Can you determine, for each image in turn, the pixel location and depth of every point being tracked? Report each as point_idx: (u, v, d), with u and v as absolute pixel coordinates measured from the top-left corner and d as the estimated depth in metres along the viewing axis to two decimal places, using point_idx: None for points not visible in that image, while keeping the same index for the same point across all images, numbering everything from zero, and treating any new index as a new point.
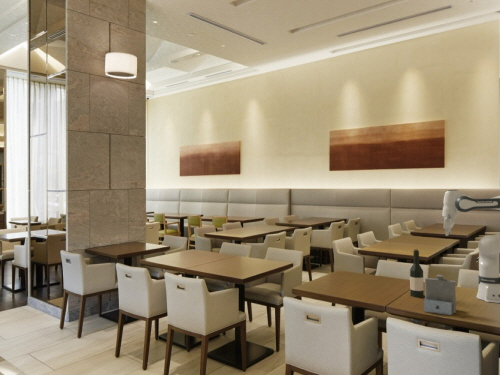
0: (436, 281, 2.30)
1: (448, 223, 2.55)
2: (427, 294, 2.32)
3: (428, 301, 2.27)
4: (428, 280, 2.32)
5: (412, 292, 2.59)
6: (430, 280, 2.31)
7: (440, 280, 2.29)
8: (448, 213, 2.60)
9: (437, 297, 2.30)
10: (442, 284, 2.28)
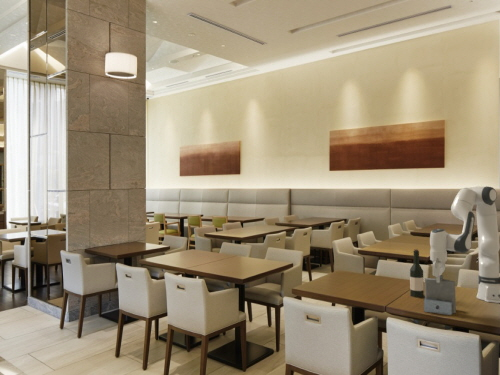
0: None
1: (437, 269, 2.21)
2: (427, 294, 2.32)
3: (428, 301, 2.27)
4: (428, 280, 2.31)
5: (412, 292, 2.59)
6: (430, 281, 2.31)
7: (440, 280, 2.28)
8: (436, 257, 2.26)
9: (437, 297, 2.29)
10: (442, 284, 2.28)
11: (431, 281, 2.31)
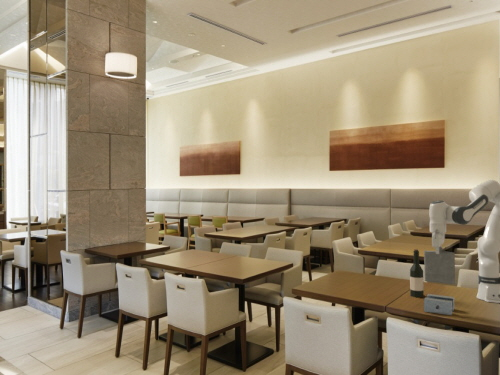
0: (435, 253, 2.29)
1: (437, 240, 2.21)
2: (426, 266, 2.32)
3: (428, 301, 2.27)
4: (427, 252, 2.31)
5: (412, 292, 2.59)
6: (429, 253, 2.31)
7: None
8: (436, 228, 2.26)
9: (436, 269, 2.29)
10: (441, 256, 2.28)
11: (430, 253, 2.31)
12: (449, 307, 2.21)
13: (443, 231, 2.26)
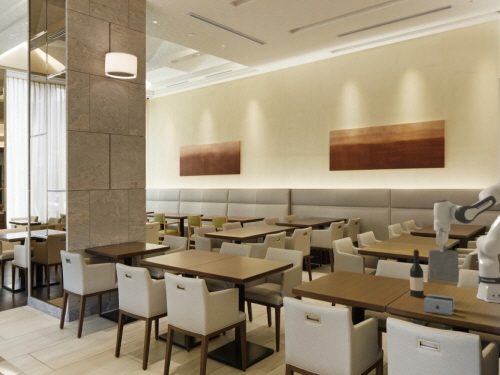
0: (439, 252, 2.36)
1: (441, 238, 2.27)
2: (431, 265, 2.38)
3: (428, 301, 2.27)
4: (432, 251, 2.37)
5: (412, 292, 2.59)
6: (433, 251, 2.37)
7: (443, 251, 2.35)
8: (440, 227, 2.33)
9: (440, 267, 2.36)
10: (445, 254, 2.34)
11: (435, 252, 2.37)
12: (449, 307, 2.21)
13: (447, 229, 2.32)
